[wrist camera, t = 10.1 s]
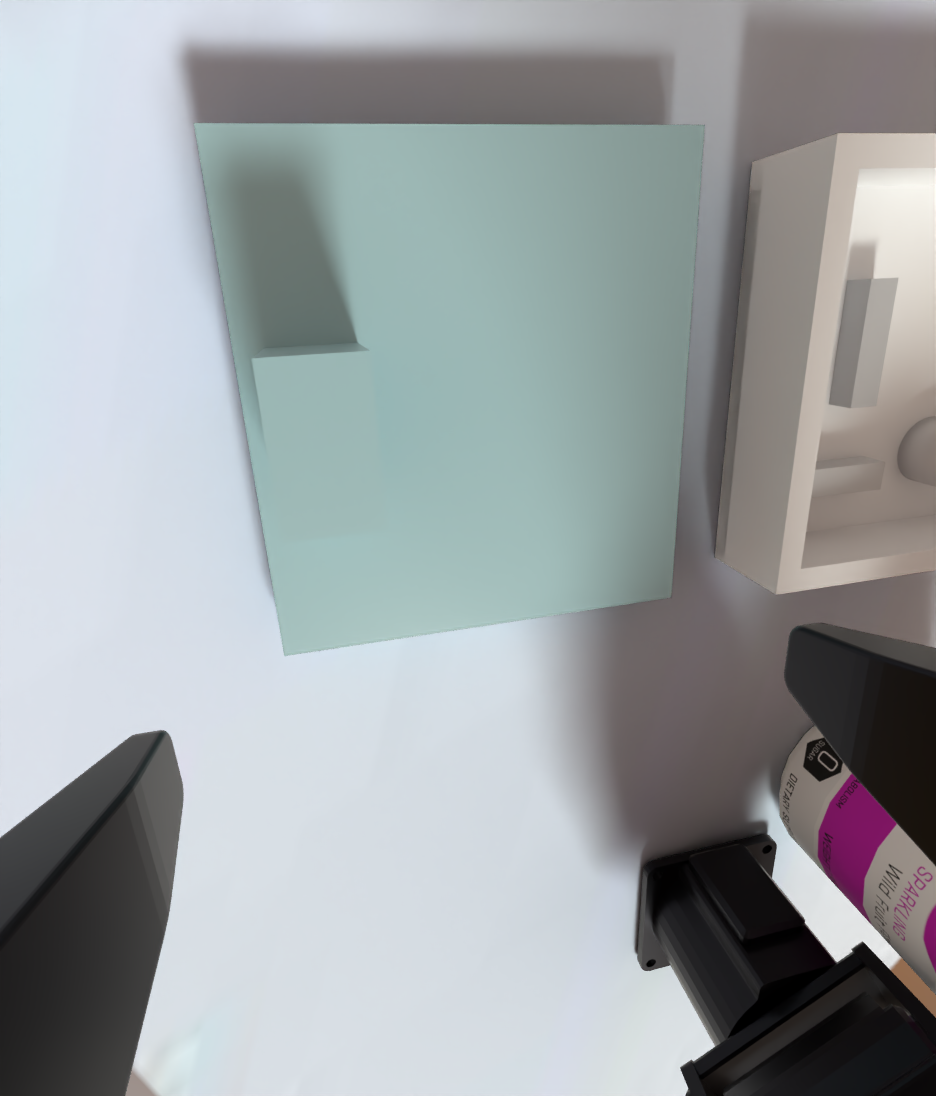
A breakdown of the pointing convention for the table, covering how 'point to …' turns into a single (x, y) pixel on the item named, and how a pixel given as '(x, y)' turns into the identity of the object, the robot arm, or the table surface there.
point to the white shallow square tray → (835, 367)
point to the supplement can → (861, 851)
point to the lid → (457, 364)
